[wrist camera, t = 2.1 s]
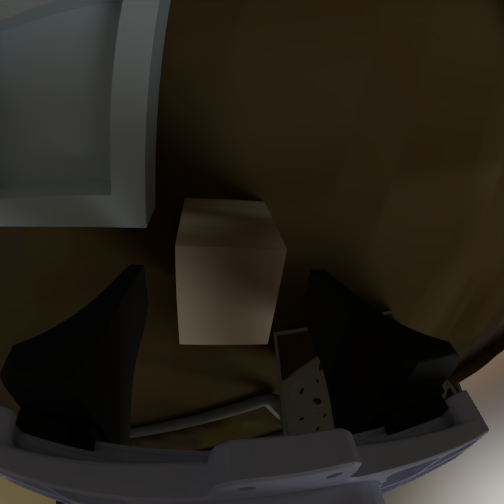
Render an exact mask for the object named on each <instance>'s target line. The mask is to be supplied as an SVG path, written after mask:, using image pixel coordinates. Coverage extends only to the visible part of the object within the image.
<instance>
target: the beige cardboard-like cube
mask: <svg viewBox="0 0 504 504" xmlns="http://www.w3.org/2000/svg"><path fill="white" fill-rule="evenodd" d="M286 252H287V248H286V246H285V244H284V242H283V240H282V238H281V236H280V234H279V231H278V229H277V227H276V225H275V223H274V221H273V219H272V217H271V215H270V213H269V211H268V208H267V206H266V204H265V202H262V201H245V200H227V199H204V198H185V200H184V205H183V209H182V214H181V219H180V224H179V228H178V233H177V238H176V244H175V265H176V293H177V312H178V328H179V342H180V344H193V345H254V344H268V340H269V335H270V330H271V326H272V321H273V316H274V312H275V307H276V302H277V297H278V292H279V287H280V282H281V277H282V272H283V267H284V262H285V257H286Z"/></svg>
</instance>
